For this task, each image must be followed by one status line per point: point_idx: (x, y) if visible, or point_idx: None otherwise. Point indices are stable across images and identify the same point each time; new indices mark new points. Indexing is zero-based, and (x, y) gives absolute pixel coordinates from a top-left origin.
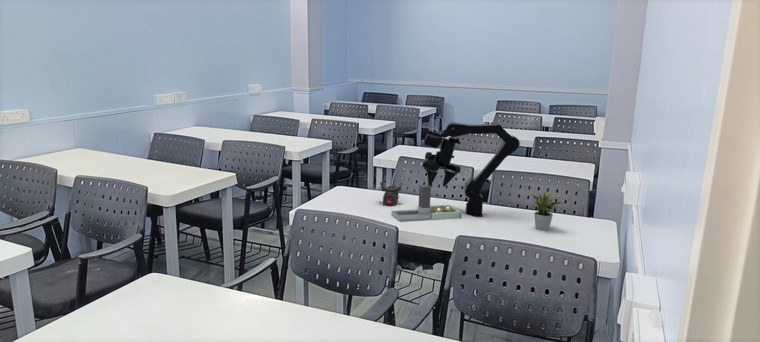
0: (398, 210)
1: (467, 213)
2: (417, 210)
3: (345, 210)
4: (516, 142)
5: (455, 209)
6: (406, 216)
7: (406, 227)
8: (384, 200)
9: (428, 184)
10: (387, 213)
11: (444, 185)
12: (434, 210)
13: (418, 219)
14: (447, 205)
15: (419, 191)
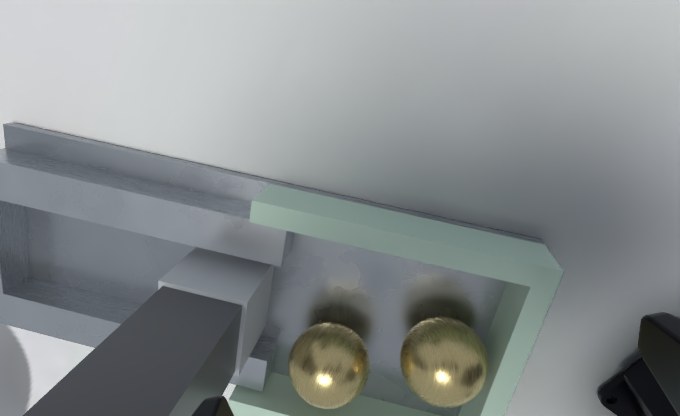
0: (32, 169)
1: (626, 384)
2: (191, 239)
3: None
4: None
5: (494, 411)
6: (46, 334)
7: (45, 390)
8: None
9: (200, 410)
10: (7, 47)
11: (651, 368)
12: (288, 363)
13: None
14: (537, 275)
15: (45, 402)
